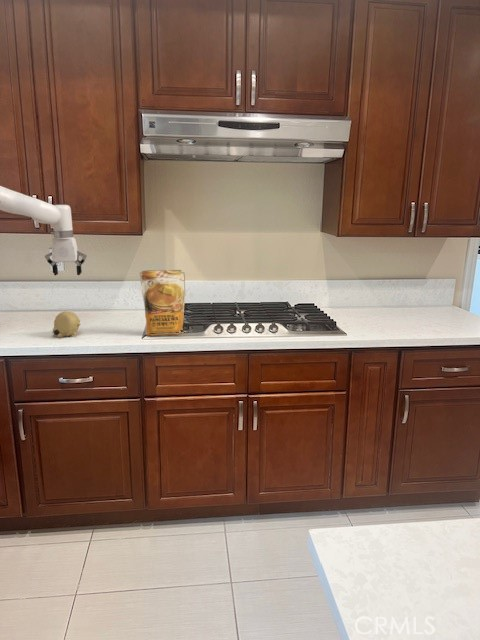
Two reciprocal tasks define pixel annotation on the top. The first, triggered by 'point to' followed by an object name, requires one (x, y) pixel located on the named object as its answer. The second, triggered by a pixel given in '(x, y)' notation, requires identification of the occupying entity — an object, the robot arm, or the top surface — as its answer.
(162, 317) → the pancake mix bag
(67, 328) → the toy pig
